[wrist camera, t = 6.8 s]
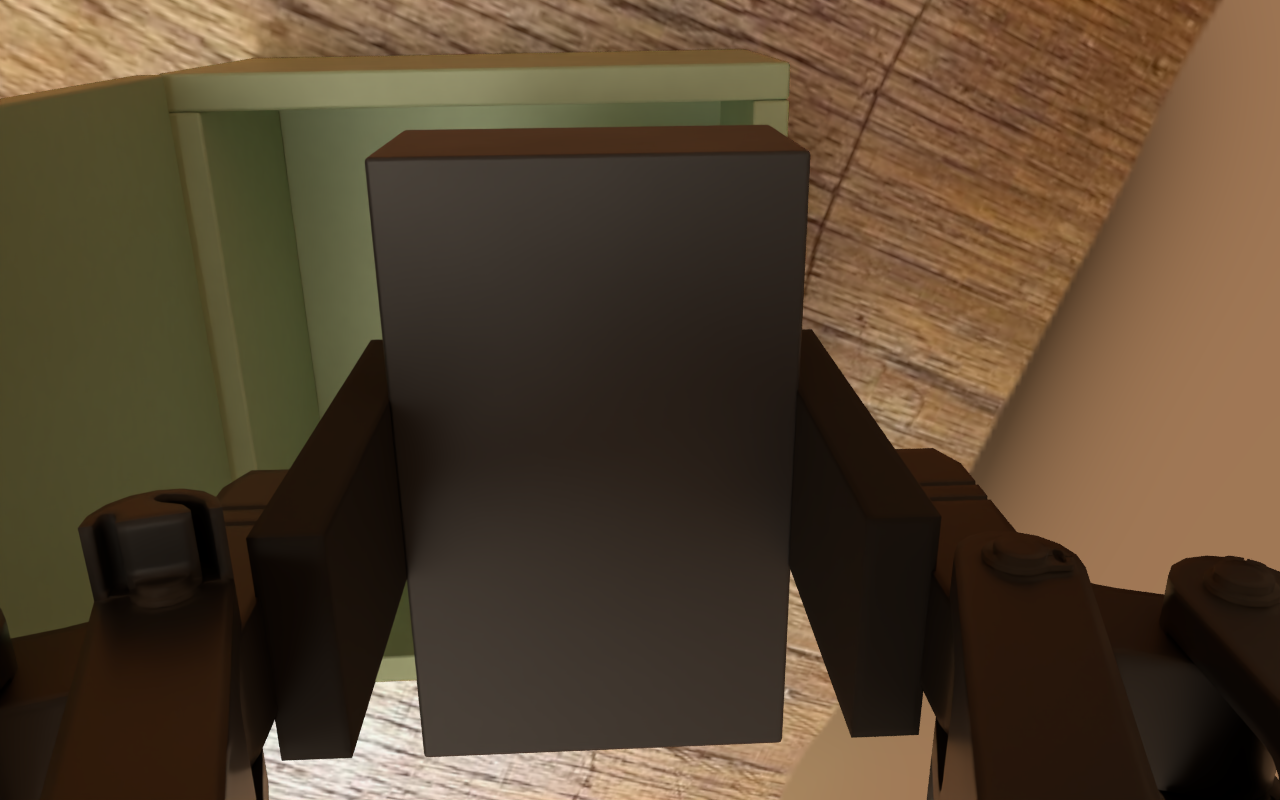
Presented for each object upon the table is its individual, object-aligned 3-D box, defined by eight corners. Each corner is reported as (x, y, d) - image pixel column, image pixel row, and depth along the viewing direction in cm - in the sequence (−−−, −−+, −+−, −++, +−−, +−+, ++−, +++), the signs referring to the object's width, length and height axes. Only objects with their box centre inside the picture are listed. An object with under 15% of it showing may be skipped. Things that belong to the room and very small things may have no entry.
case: (745, 49, 29) (791, 61, 23) (736, 544, 35) (770, 666, 28) (250, 58, 29) (154, 73, 22) (321, 560, 34) (261, 688, 28)
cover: (-464, 187, 8) (-544, 190, 8) (-9, 1359, 14) (-54, 1363, 14) (163, 74, 22) (133, 75, 22) (269, 695, 27) (246, 696, 27)
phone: (770, 123, 16) (811, 151, 13) (752, 634, 19) (782, 744, 16) (402, 129, 15) (363, 157, 13) (447, 645, 19) (423, 758, 16)
